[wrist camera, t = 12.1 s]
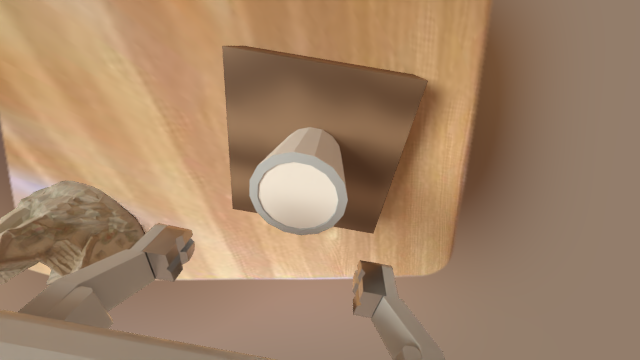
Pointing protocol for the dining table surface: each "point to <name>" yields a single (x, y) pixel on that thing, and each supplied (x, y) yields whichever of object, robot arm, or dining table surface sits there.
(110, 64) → the dining table surface
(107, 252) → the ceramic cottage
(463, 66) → the dining table surface
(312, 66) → the walnut block
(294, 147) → the white cup
